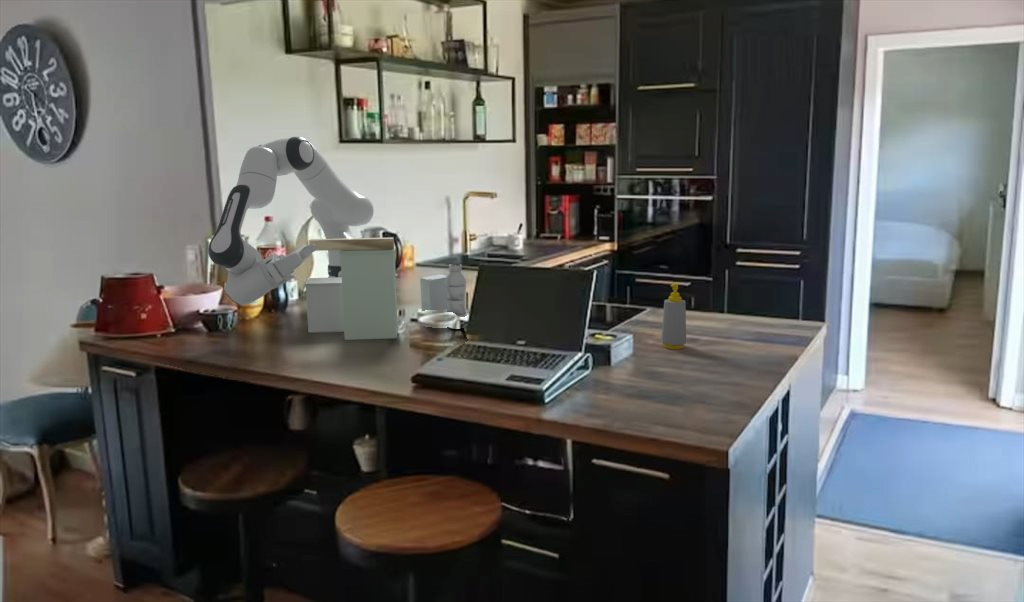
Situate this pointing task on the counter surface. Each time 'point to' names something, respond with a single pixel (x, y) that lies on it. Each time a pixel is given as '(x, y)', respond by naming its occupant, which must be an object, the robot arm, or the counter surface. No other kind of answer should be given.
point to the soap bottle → (674, 321)
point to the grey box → (324, 305)
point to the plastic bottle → (456, 290)
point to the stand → (369, 293)
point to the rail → (352, 243)
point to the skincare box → (433, 293)
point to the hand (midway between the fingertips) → (318, 244)
